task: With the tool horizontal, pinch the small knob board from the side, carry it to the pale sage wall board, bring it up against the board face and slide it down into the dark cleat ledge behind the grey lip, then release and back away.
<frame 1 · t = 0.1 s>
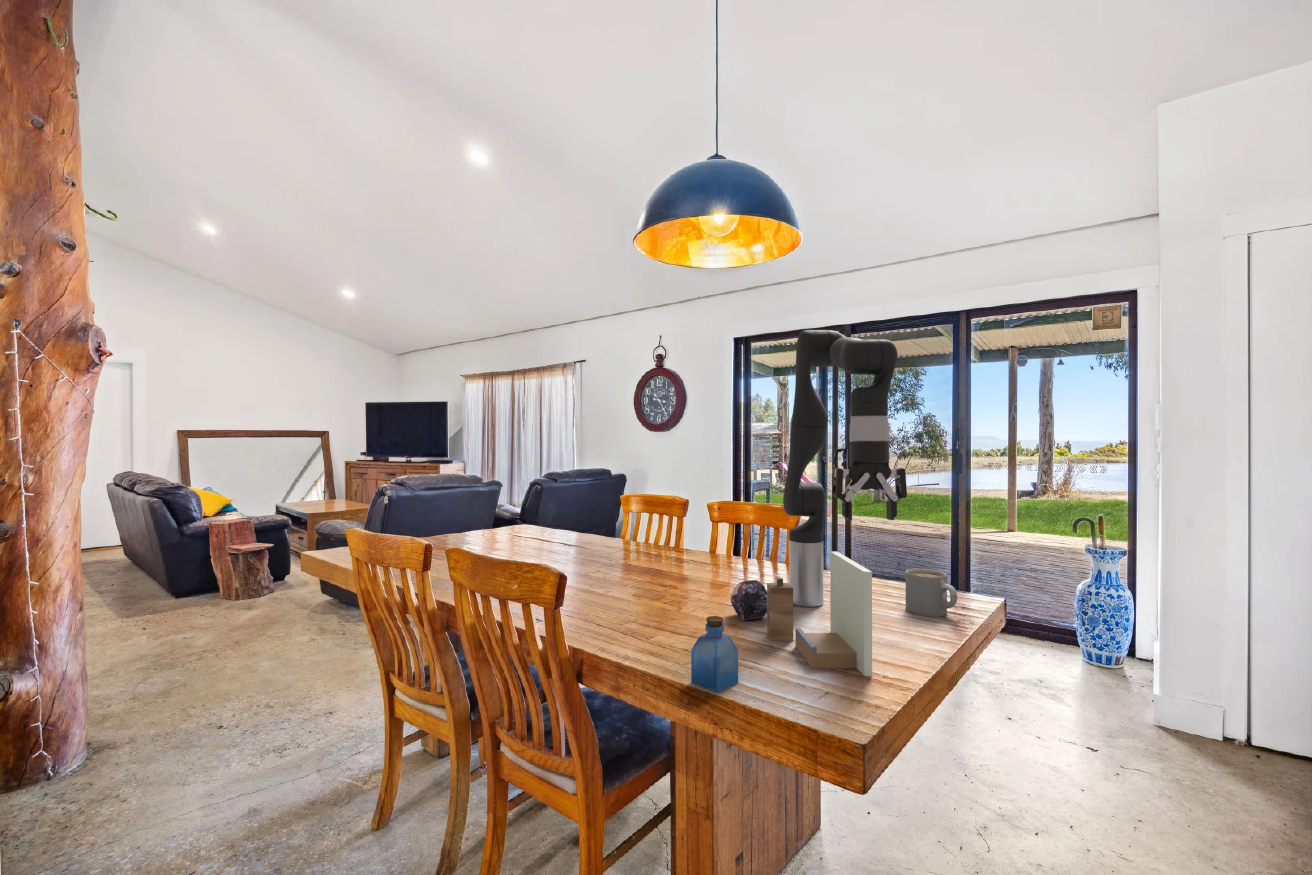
hand: (869, 519, 117), 29 cm above the table, tool pointing down, fingers open, 8 cm apart
mineral specimen: (750, 618, 148), on the table
cleat board: (846, 656, 122), on the table
coffee mug: (930, 613, 153), on the table
knob board: (779, 637, 134), on the table
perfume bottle: (714, 683, 109), on the table
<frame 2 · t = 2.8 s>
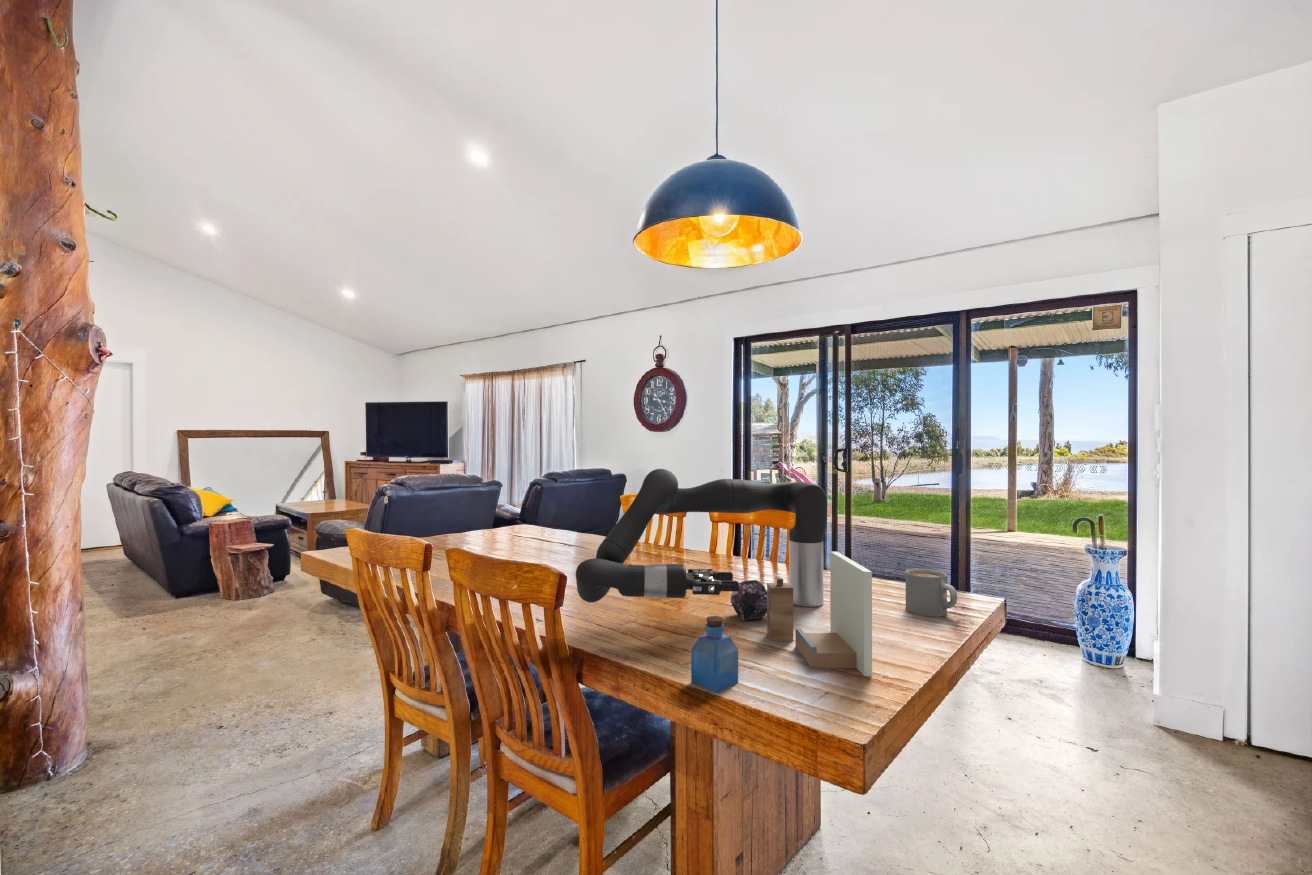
hand: (735, 581, 133), 13 cm above the table, tool horizontal, fingers open, 8 cm apart
nothing on the table moved.
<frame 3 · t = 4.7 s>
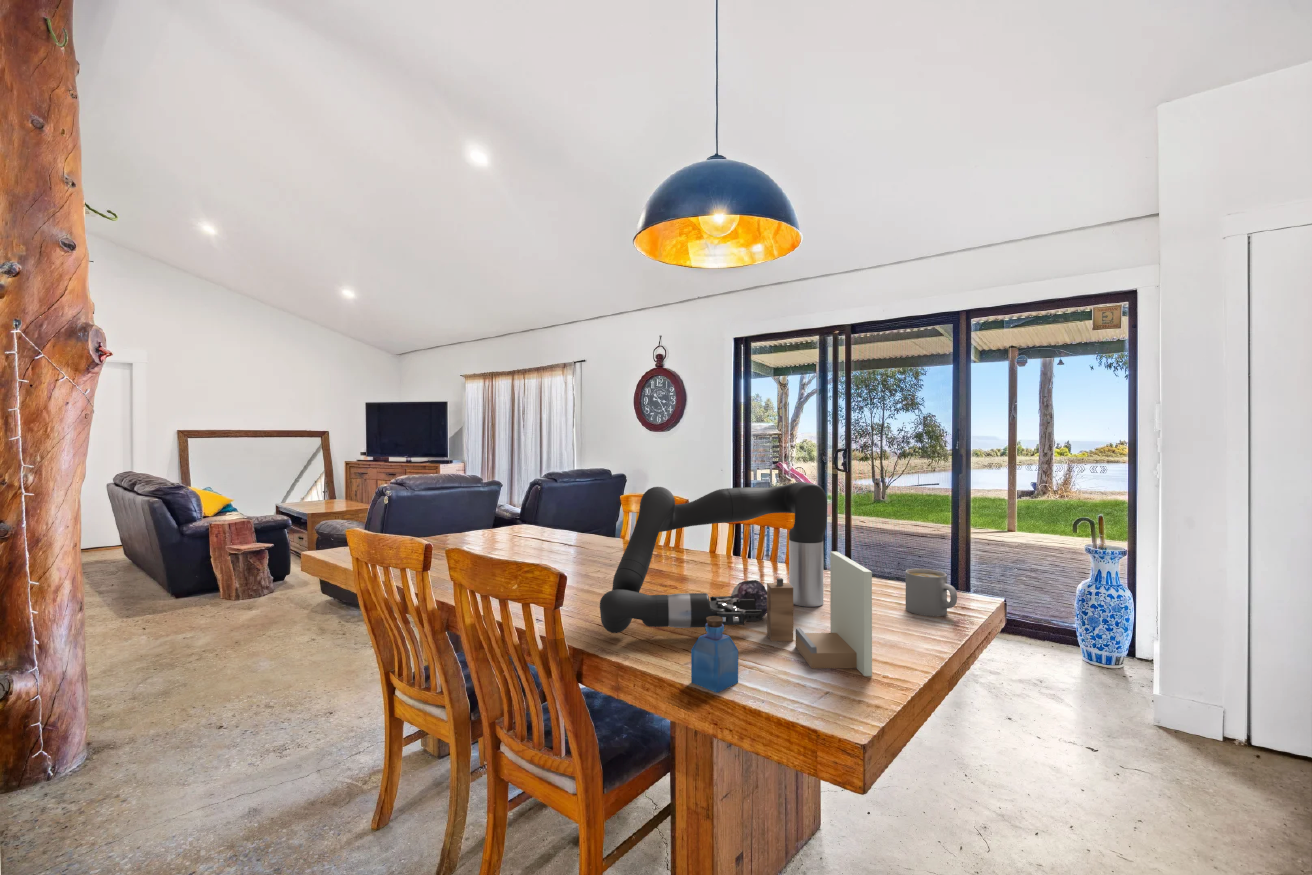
hand: (758, 609, 133), 6 cm above the table, tool horizontal, fingers open, 8 cm apart
nothing on the table moved.
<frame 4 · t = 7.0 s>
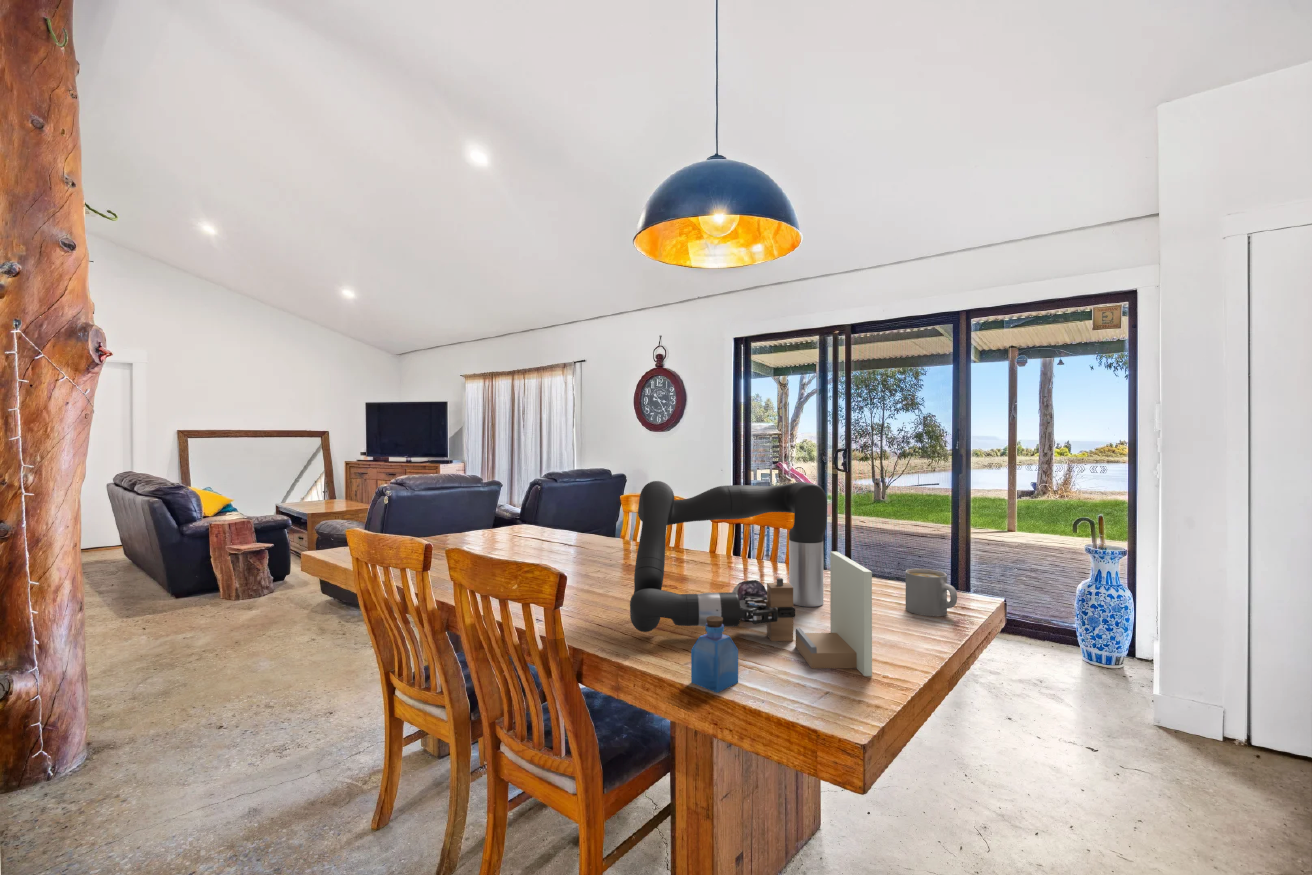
hand: (791, 608, 134), 7 cm above the table, tool horizontal, fingers closed on knob board, 4 cm apart
knob board: (779, 637, 134), on the table, touching gripper
everything else where it was.
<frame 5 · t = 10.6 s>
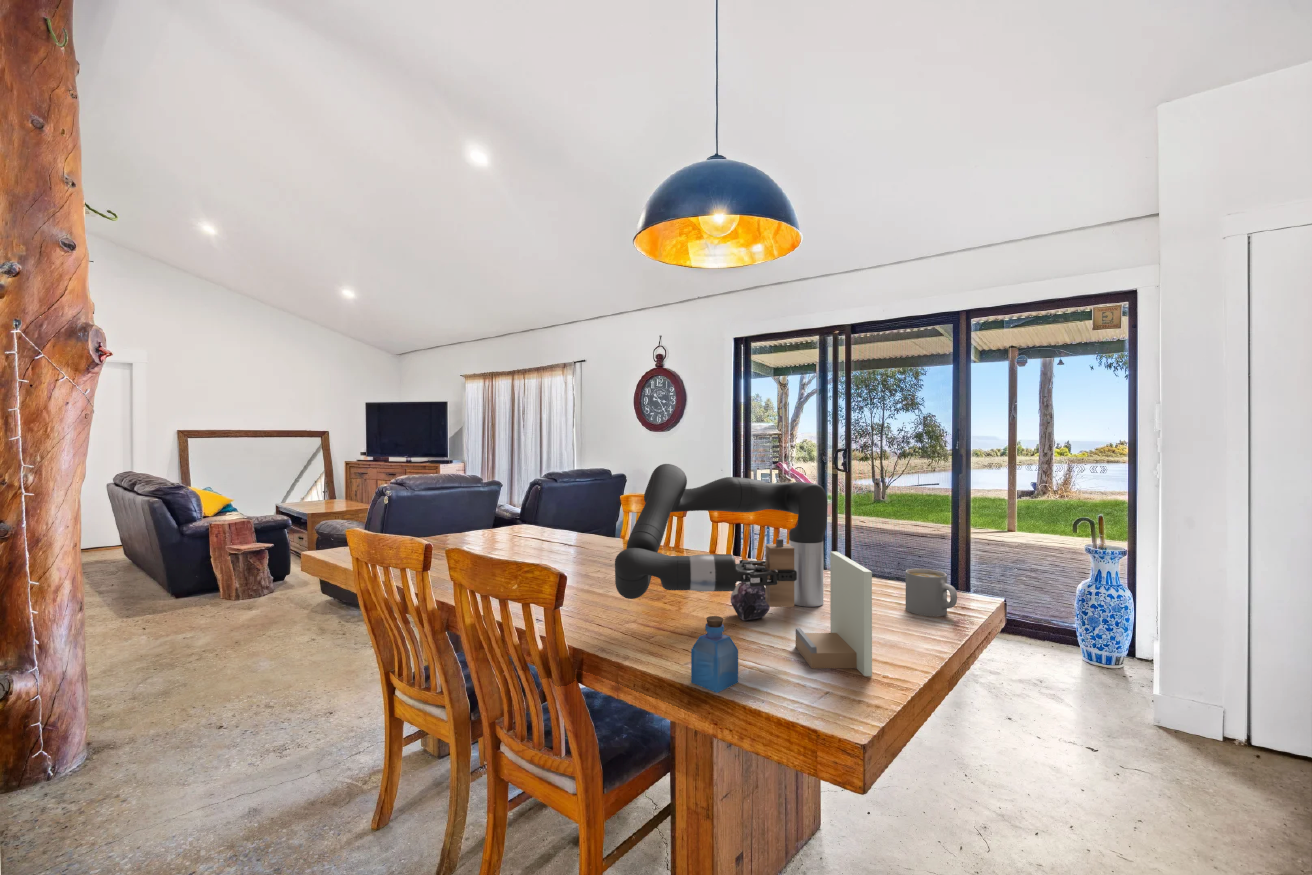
hand: (792, 572, 122), 18 cm above the table, tool horizontal, fingers closed on knob board, 4 cm apart
knob board: (779, 603, 122), point 11 cm above the table, touching gripper
everything else where it was.
when the fingers open (10 cm above the table, at t = 14.6 s): knob board stays where it is, resting on cleat board.
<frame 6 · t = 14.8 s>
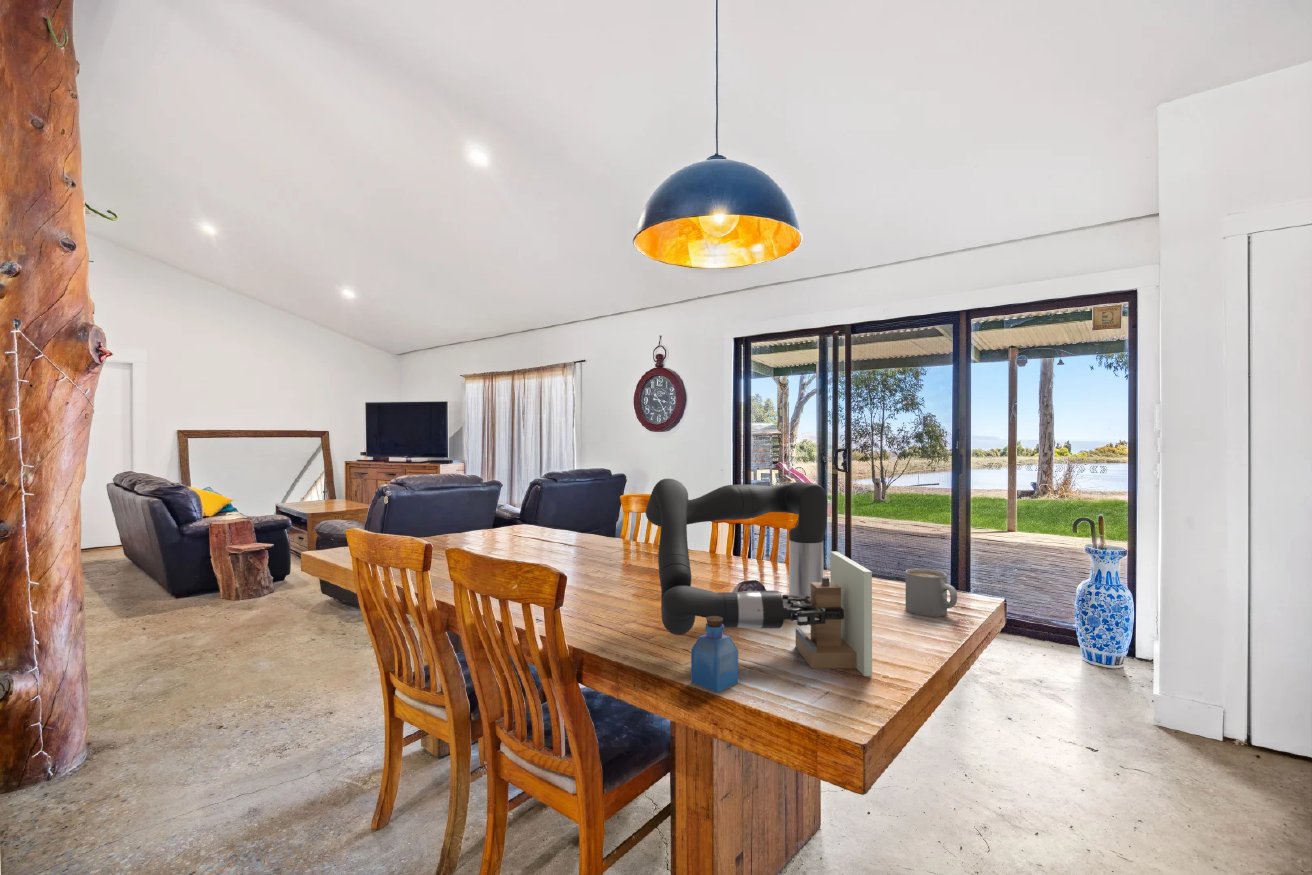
hand: (838, 608, 122), 10 cm above the table, tool horizontal, fingers open, 5 cm apart
knob board: (825, 642, 122), point 3 cm above the table, touching cleat board
everything else where it was.
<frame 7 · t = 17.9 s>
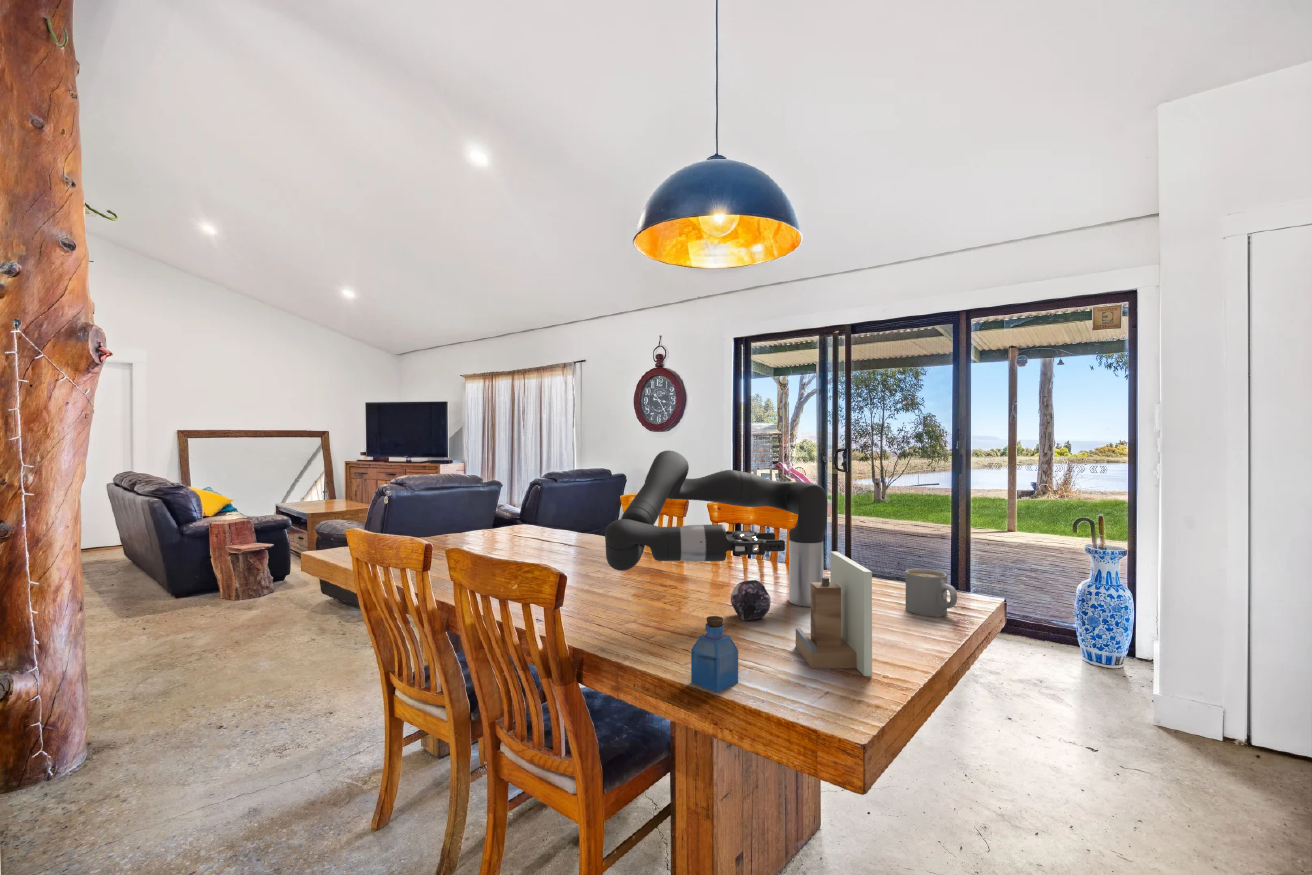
hand: (779, 541, 121), 24 cm above the table, tool horizontal, fingers open, 8 cm apart
nothing on the table moved.
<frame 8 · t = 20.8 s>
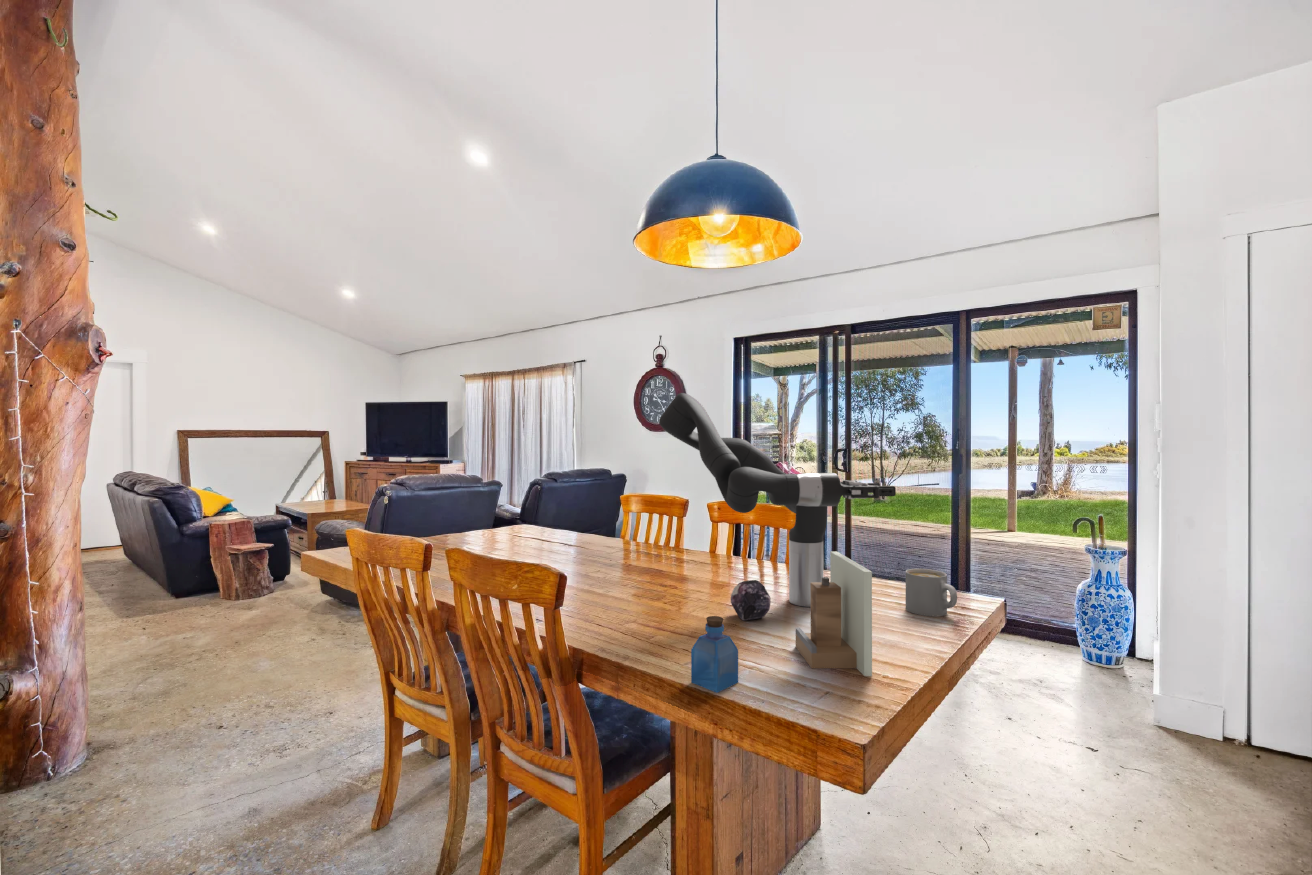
hand: (886, 489, 132), 34 cm above the table, tool horizontal, fingers open, 8 cm apart
nothing on the table moved.
at the end: knob board inside the target area (0.2 cm from its centre), point 3.0 cm above the table; knob board tilted 0°; the gripper is holding nothing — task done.
